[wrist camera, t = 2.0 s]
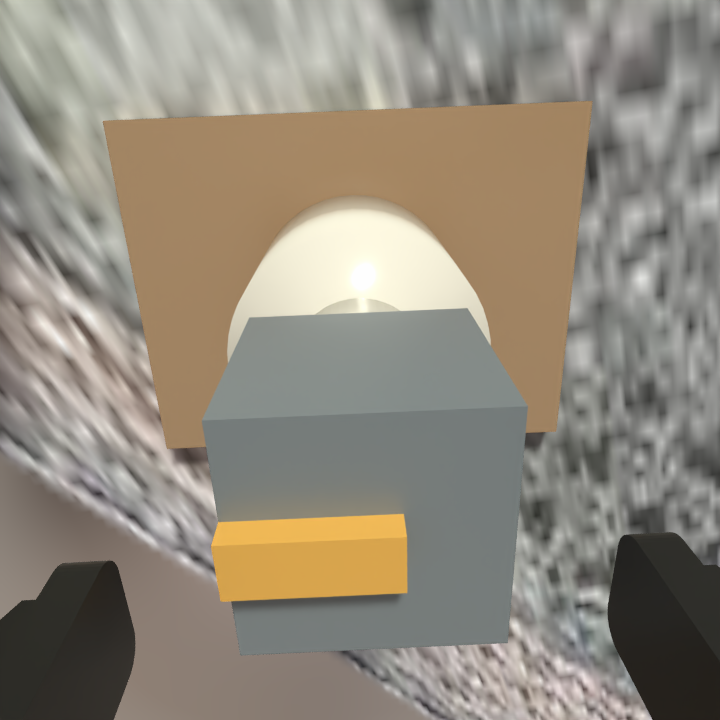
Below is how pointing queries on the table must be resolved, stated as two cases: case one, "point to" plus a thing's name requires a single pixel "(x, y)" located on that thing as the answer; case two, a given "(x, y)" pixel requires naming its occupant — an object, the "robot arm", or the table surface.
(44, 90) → the table surface
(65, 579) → the robot arm
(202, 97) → the table surface
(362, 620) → the grey cube with tab
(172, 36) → the table surface
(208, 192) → the board with white bottle
